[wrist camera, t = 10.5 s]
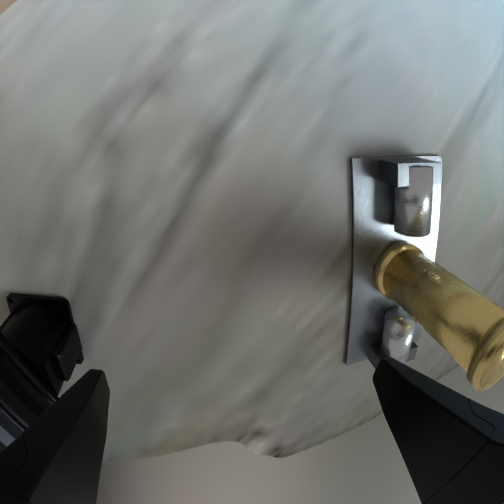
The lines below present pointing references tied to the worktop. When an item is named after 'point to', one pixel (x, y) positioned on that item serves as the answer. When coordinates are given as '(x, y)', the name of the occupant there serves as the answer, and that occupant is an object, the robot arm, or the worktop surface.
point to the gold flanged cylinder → (445, 311)
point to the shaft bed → (379, 239)
